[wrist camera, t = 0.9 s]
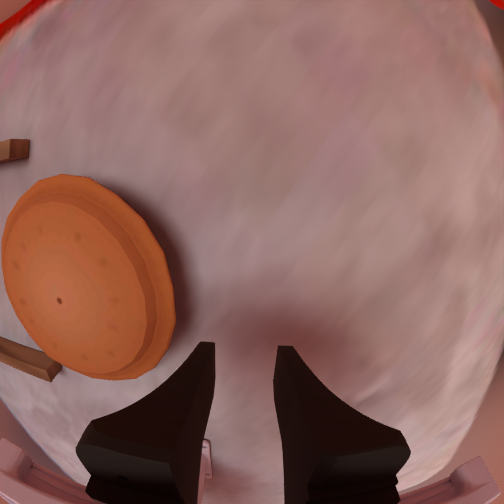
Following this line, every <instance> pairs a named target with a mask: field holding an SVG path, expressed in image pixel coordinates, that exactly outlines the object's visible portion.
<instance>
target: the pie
mask: <svg viewBox="0 0 504 504" xmlns="http://www.w3.org/2000/svg"><path fill="white" fill-rule="evenodd" d="M2 270H3V276H4V282H5V287H6V292H7V295H8V297H9V299H10V302H11V304H12V306H13V309H14V311H15V313H16V315H17V317H18V318H19V320H20V322H21V323H22V325H23V326H24V328H25V329H26V331H27V332H28V334H29V335H30V336H31V338H32V339H33V340H34V341H35V342H36V344H37V345H38V346H39V347H40V348H41V349H42V350H43V351H44V352H45V353H46V355H47V356H48V357H50V358H52V359H53V360H55V361H57V362H59V363H60V364H62V365H64V366H66V367H67V368H69V369H72V370H74V371H76V372H79V373H81V374H84V375H86V376H89V377H91V378H97V379H106V380H126V379H136V378H138V377H139V376H141V375H143V374H145V373H146V372H148V371H150V370H151V369H153V368H155V367H156V366H157V364H158V363H159V361H160V360H161V358H162V357H163V355H164V354H165V353H166V351H167V350H168V348H169V344H170V341H171V337H172V334H173V331H174V327H175V324H176V313H175V302H174V289H173V285H172V281H171V277H170V273H169V270H168V266H167V262H166V257H165V253H164V251H163V250H162V248H161V247H160V245H159V243H158V242H157V240H156V239H155V237H154V235H153V234H152V232H151V230H150V229H149V227H148V225H147V224H146V222H145V220H144V219H143V218H142V217H141V216H140V215H139V214H138V213H136V212H135V211H134V210H133V209H132V208H131V207H130V206H129V205H128V204H127V203H126V202H125V201H123V200H122V199H121V198H120V197H119V196H118V195H117V194H115V193H113V192H112V191H110V190H109V189H107V188H105V187H104V186H102V185H100V184H99V183H97V182H96V181H94V180H92V179H91V178H89V177H81V176H74V175H66V174H60V175H57V176H53V177H49V178H46V179H43V180H39V181H38V182H37V183H35V184H34V185H33V186H32V187H31V188H30V189H29V190H28V191H27V192H26V193H25V194H24V195H23V196H21V197H20V199H19V200H18V202H17V203H16V205H15V206H14V208H13V209H12V211H11V212H10V214H9V216H8V218H7V222H6V225H5V229H4V233H3V238H2Z"/></svg>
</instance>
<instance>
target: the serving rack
mask: <svg viewBox="0 0 504 504" xmlns="http://www.w3.org/2000/svg"><path fill="white" fill-rule="evenodd" d="M29 141H30V140H27V139H8V140H5V141H2V142H0V163H3V162H7V161H12V160H17V159H22V158H27V157H29ZM0 361H1V362H3V363H5V364H7V365H10V366H12V367H14V368H16V369H19V370H21V371H23V372H26V373H28V374H31V375H33V376H36V377H38V378H41V379H43V380H46V381H49V382H52V380H53V379H54V378H55V376H56V375H57V374H58V373H59V371H60V370H61V369H62V367H61V364H60V363H59V362H57V361H55V360H53V359H52V358H50V357H48V356H47V355H46V353H44V352H41V351H38V350H35V349H32V348H29V347H26V346H23V345H21V344H18V343H15V342H13V341H10V340H7V339H5V338H2V337H0Z"/></svg>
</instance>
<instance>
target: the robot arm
mask: <svg viewBox="0 0 504 504" xmlns="http://www.w3.org/2000/svg"><path fill="white" fill-rule="evenodd" d="M214 387H215V343H213V342H200V343H198V345H197V346H196V348H195V349H194V351H193V352H192V353H191V354H190V356H189V357H188V358H187V359H186V360H185V362H184V363H183V364H182V365H181V366H180V367H179V368H178V369H177V370H176V371H175V372H174V373H173V374H172V375H171V376H170V377H169V378H168V379H167V380H166V381H165V382H164V383H162V384H161V385H160V386H159V387H158V388H156V389H155V390H154V391H152V392H151V393H149V394H148V395H146V396H145V397H143V398H142V399H140V400H139V401H137V402H135V403H134V404H132V405H130V406H128V407H126V408H124V409H122V410H119V411H117V412H115V413H112V414H109V415H106V416H104V417H101V418H98V419H94V420H92V421H91V422H90V424H89V425H88V426H87V428H86V429H85V431H84V433H83V435H82V437H81V439H80V441H79V443H78V445H77V447H76V454H77V456H78V458H79V460H80V461H81V462H82V464H83V465H84V467H85V468H86V469H87V471H88V472H89V473H90V475H91V477H90V479H89V482H88V484H87V487H86V486H84V485H81V484H79V483H76V482H74V481H72V480H69V479H67V478H65V477H62V476H60V475H58V474H56V473H54V472H52V471H50V470H47V469H46V468H44V467H42V466H40V465H38V464H36V463H34V462H33V461H32V459H31V458H30V456H29V455H28V454H27V453H26V452H25V451H24V450H22V449H21V448H19V447H17V446H16V445H14V444H13V443H11V442H9V441H8V440H6V439H5V438H2V440H1V441H0V496H1V497H2V498H3V499H5V500H6V501H7V502H8V503H9V504H202V497H203V489H204V480H205V479H212V469H211V458H210V446H209V442H208V441H206V440H204V435H205V430H206V426H207V422H208V418H209V414H210V409H211V405H212V401H213V396H214ZM273 387H274V402H275V407H276V413H277V418H278V424H279V429H280V435H281V441H282V449H283V467H284V499H285V504H489V503H490V502H492V501H493V500H494V499H495V498H496V497H498V496H499V495H500V493H501V491H500V489H499V487H498V485H497V484H496V482H495V480H494V478H493V477H492V475H491V473H490V472H489V470H488V468H487V466H486V465H485V463H484V461H483V460H482V458H481V457H480V456H478V457H476V458H474V459H472V460H470V461H468V462H466V463H464V464H462V465H460V466H459V467H458V468H457V469H455V470H454V471H453V472H452V473H451V475H450V476H449V477H447V478H445V479H443V480H440V481H438V482H436V483H433V484H431V485H428V486H425V487H423V488H420V489H418V490H415V491H412V492H409V493H406V494H403V495H400V496H399V494H398V491H397V489H396V486H395V485H397V484H398V479H397V477H396V474H397V473H398V472H399V470H400V469H401V468H402V467H403V466H404V464H405V463H406V462H407V460H408V459H409V457H410V454H411V451H410V448H409V446H408V444H407V442H406V440H405V438H404V436H403V435H402V433H401V431H399V430H397V429H394V428H391V427H389V426H386V425H384V424H381V423H379V422H377V421H375V420H373V419H371V418H369V417H367V416H365V415H363V414H362V413H360V412H358V411H357V410H355V409H353V408H352V407H350V406H349V405H347V404H346V403H345V402H343V401H342V400H341V399H339V398H338V397H337V396H336V395H335V394H333V393H332V392H331V391H330V390H329V389H328V388H327V387H326V386H325V385H324V384H323V383H322V382H321V381H320V380H319V379H318V378H317V377H316V376H315V375H314V373H313V372H312V371H311V370H310V369H309V367H308V366H307V365H306V364H305V362H304V361H303V360H302V358H301V357H300V356H299V354H298V353H297V351H296V350H295V349H294V347H293V346H278V350H277V357H276V365H275V372H274V379H273Z"/></svg>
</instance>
